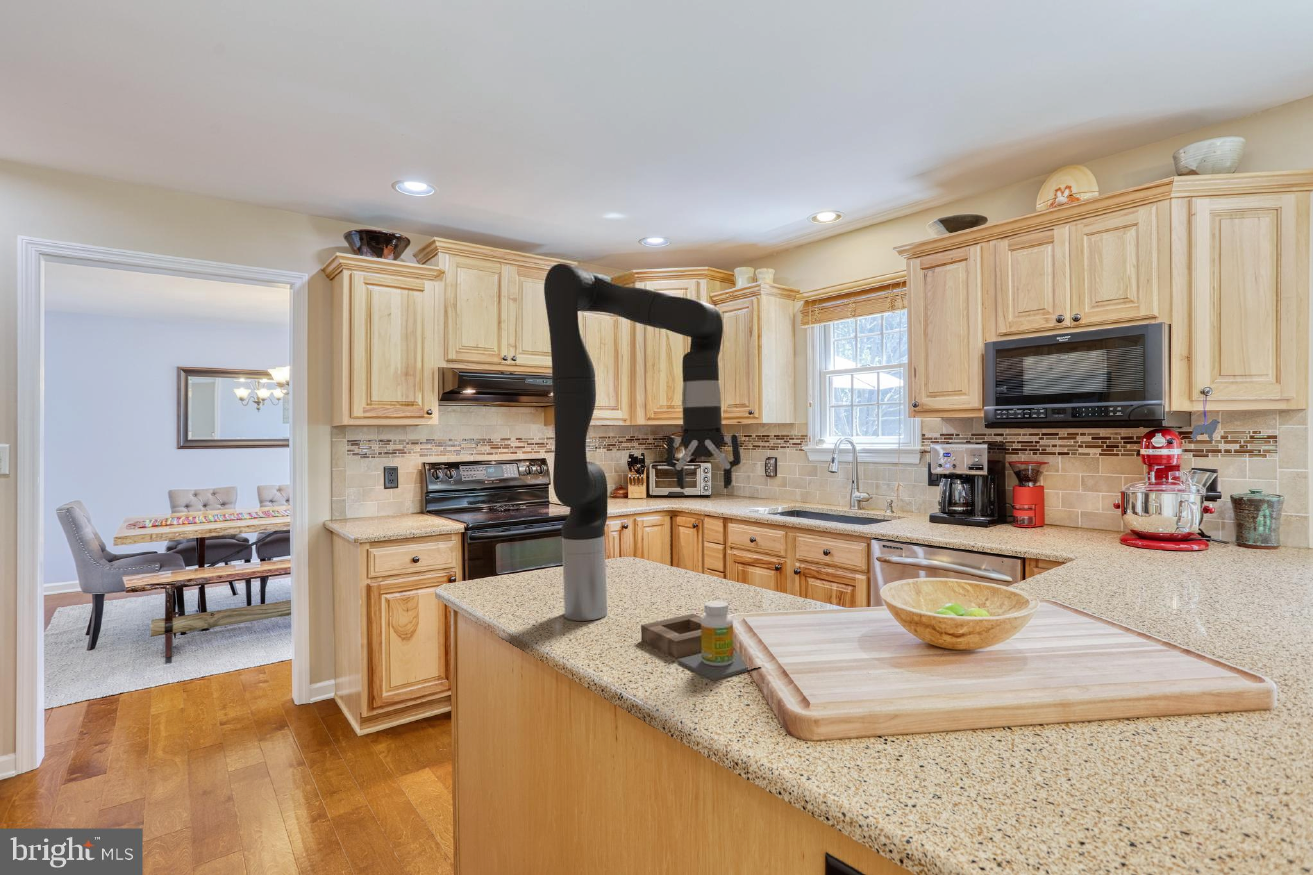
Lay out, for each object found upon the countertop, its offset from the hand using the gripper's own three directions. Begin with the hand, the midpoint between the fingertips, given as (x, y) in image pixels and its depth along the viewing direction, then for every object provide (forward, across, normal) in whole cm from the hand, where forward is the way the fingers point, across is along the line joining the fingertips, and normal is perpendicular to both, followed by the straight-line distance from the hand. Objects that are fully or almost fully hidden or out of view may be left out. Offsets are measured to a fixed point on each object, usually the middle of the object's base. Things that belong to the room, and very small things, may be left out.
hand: (704, 488), depth 128 cm
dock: (+28, +4, +6) cm, 29 cm away
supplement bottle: (+28, -4, +17) cm, 33 cm away
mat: (+28, -4, +17) cm, 33 cm away
